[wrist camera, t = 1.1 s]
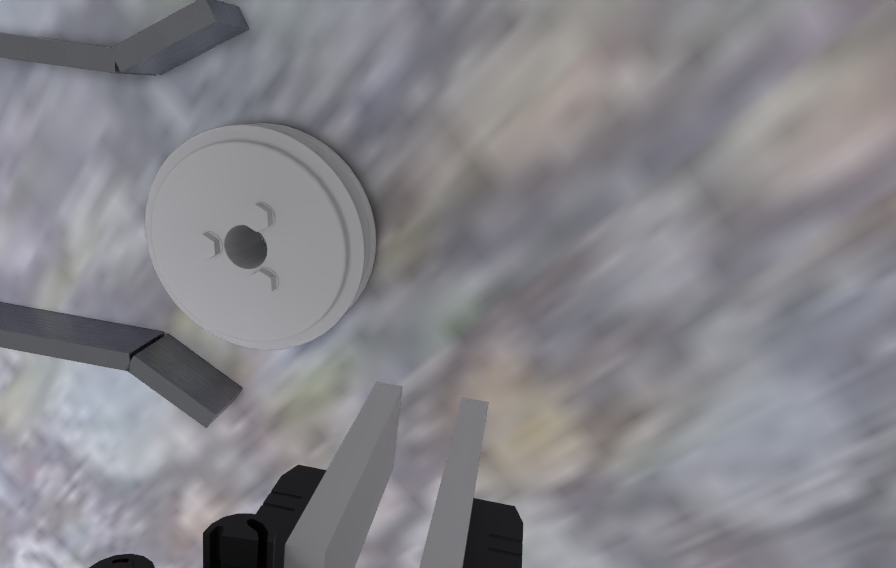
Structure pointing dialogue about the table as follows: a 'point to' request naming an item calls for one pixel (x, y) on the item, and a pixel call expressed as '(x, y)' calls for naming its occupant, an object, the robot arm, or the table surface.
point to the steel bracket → (108, 342)
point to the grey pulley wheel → (273, 215)
